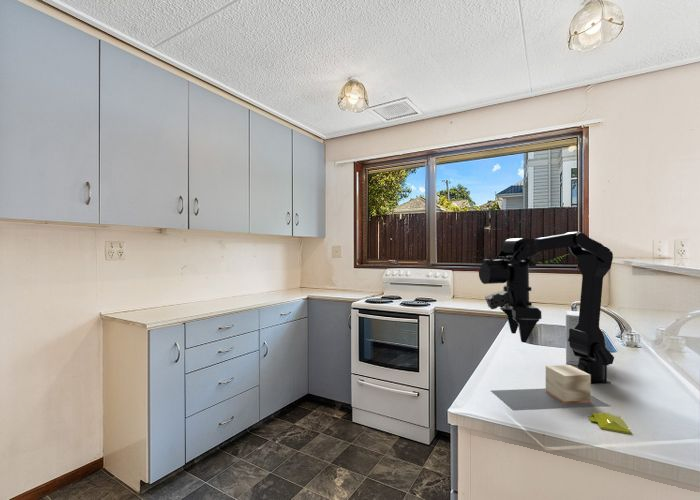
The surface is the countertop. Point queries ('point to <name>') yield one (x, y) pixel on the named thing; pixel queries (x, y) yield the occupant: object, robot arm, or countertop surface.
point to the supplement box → (571, 322)
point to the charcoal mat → (538, 400)
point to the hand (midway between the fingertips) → (518, 337)
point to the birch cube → (568, 384)
